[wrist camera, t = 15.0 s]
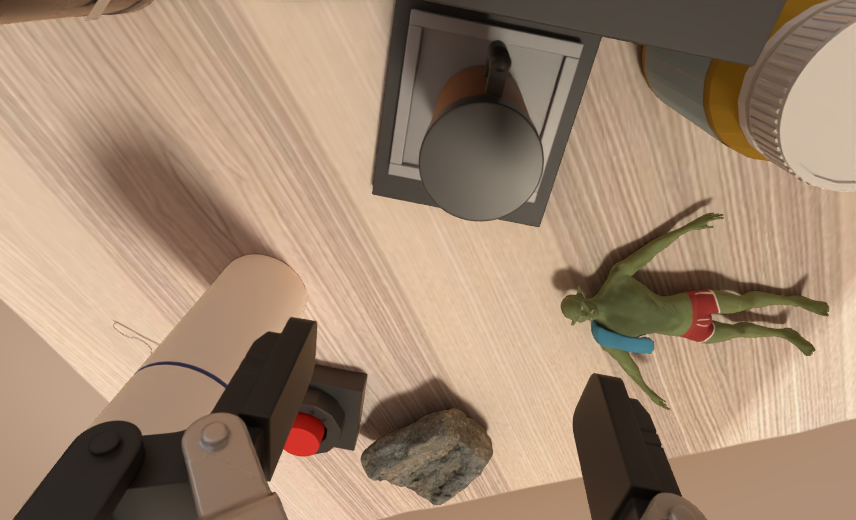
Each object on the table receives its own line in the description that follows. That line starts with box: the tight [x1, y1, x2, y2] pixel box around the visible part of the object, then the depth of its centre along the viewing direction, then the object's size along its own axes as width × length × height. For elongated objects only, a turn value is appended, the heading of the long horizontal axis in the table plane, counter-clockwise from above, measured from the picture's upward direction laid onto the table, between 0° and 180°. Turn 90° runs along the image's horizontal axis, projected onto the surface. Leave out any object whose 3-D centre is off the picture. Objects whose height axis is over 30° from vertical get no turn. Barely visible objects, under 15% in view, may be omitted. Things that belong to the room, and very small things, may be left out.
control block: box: [298, 365, 367, 454], centre depth 45 cm, size 9×8×4 cm
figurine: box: [561, 213, 829, 410], centre depth 36 cm, size 16×4×18 cm
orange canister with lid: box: [418, 40, 544, 221], centre depth 26 cm, size 7×6×10 cm
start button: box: [283, 412, 325, 456], centre depth 42 cm, size 4×4×2 cm
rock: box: [361, 408, 493, 505], centre depth 45 cm, size 12×10×5 cm
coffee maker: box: [372, 0, 787, 227], centre depth 23 cm, size 16×12×18 cm
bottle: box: [642, 0, 856, 192], centre depth 22 cm, size 7×7×15 cm
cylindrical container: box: [9, 254, 307, 520], centre depth 30 cm, size 7×7×25 cm
